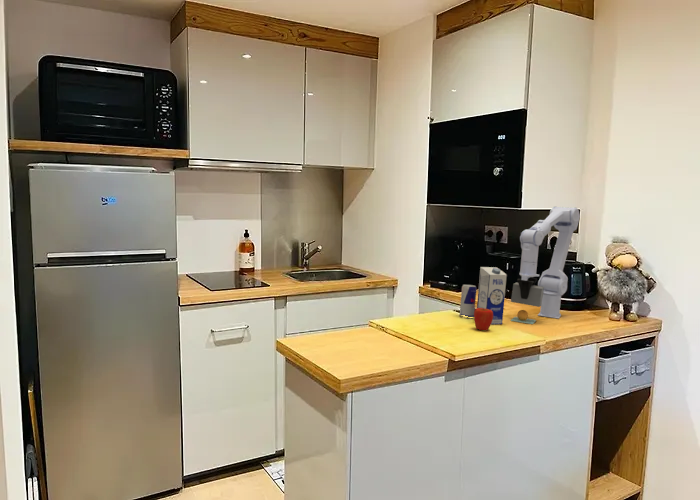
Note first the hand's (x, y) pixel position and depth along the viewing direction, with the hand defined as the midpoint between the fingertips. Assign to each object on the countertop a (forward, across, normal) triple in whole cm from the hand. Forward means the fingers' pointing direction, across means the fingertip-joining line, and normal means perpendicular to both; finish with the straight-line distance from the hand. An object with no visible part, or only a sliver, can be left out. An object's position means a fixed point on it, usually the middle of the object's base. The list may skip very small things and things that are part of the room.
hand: (525, 297), depth 196 cm
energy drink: (+9, -10, +19) cm, 23 cm away
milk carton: (+9, -13, +10) cm, 19 cm away
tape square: (+9, 0, 0) cm, 9 cm away
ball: (+7, 0, 0) cm, 7 cm away
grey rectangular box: (+2, 0, 0) cm, 2 cm away
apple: (+9, -27, +9) cm, 30 cm away
